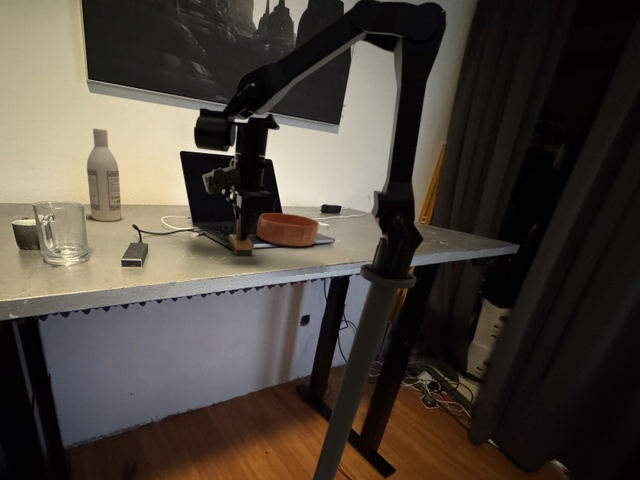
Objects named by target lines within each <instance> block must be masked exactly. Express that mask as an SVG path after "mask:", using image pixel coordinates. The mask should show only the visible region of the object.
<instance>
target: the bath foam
mask: <svg viewBox="0 0 640 480" xmlns="http://www.w3.org/2000/svg"><path fill="white" fill-rule="evenodd" d="M92 135H93V145H94V146H93V148H92V150H91V151H90V153H89V154H88V158H87V162H86V174H87V185H88V194H89V206H90V215H91V218H92V219H93V220H97V221H101V222H102V221H103V222H114V221H115V222H116V221H120V220H121V218H122V207H121V205H122V204H121V188H120V187H121V186H120V170H119V165H118V162H117V160H116V157H115V156H114V154H113V153H112V151H111V150H110V148H109V139H108V130H107V129H102V128H101V129H100V128H93V129H92Z"/></svg>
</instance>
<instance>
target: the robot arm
mask: <svg viewBox="0 0 640 480" xmlns="http://www.w3.org/2000/svg"><path fill="white" fill-rule="evenodd" d="M447 24H448V14H447V11H446V10H445V9H444V8H443V7H442V6H441V5H440V4H439V3H437V2H435V1H425V2H423V3H420V4H415V3H411V2H407V1H380V0H357V1H356V2H355V4H354V5H353V6H352V7H351V8H350V9H349V10H347V11H346V12H344V13H343V14H342V15H340V16H339V17H338V18H336V19H335V20H334V21H332V22H331V23H329V24H328V25H326V26H325V27H323V28H322V29H321V30H319V31H318V32H317V33H315V34H314V35H312V36H311V37H310V38H308V39H307V40H305V41H304V42H303V43H301V44H300V45H298V46H297V47H296V48H294V49H293V50H291V52H289V53H287V54H286V55H284V56H283V57H281V58H279V59H277V60H273V61H270V62H267V63H263V64H262V65H259V66H257V67H254V68H253V69H251V70H249V71H247V72H245V73H244V74H243V75H241V77H240V78H239V80H238V82H237V87H236V92H235V93H234V95H233V96H232V97H231V99H230V100H229V102H228V103H227V104H226V106H225V107H224V109H223V110H212V109H209V108H204V107H201V108H199V116H198V117H197V118H196V121H195V126H194V127H193V139H194V144H195V147H196V148H197V149H198V150H204V151H214V152H221V153H222V152H223V153H228V152H229V151H230V148H233V147H235V148H234V157H233V158H231V159H230V161H229V166H228V167H225V168H222V167H219V168H217V169H212V171H211V172H207V173H203V174H202V175H201V176H202V180H203V183H204V187H205V191H206V193H207V194H208V195H215V194H217V193H218V192H220V191H221V194H223V195H225V196H227V195H228V194H230V195H229V197H226V198H225V199H226V201H227V202H228V204H230V205H231V207H232V208H233V213H234V221H235V226H236V229H237V219H239V223H240V238H241V239H246V238H247V237H248V238H249V235H250V233H251V232H252V230H253V228H254V226H255V225H256V223H258V219H259V217H260V216H261V214H264V212H265V211H268V212H269V211H272V212H273V211H275V210H276V202H277V199H276V197H275V196H274V195H273V193H272V192H269V191H268V190H266V189H265V188H266V187H265V185H263V180H264V179H263V178H264V170H268V165H269V163H268V162H266V155H267V146H268V139H269V138H268V137H269V131H270V130H272V131H279V130H280V129H281V126H280V125H279V123H278V122H277V121H276V119H275V115H274V114H272V113H271V112H270V113H268V112H269V111H270V110H272V109H273V107H274V106H276V105H277V104H278V103H279V102H280V101H281V100H282V99H283V98H284V97H285V95H286V94H287V93H288V92H289V91H290V90H291V89H292V88H293V87H294V86H295V85H296V84H297V83H299V82H300V81H302V80H303V79H305V78H306V77H308V76H310V75H311V74H312V73H314V72H315V71H316V70H318V69H319V68H321V67H322V66H324V65H325V64H327V63H329V62H330V61H331V60H333V59H334V58H336V57H337V56H339V55H340V54H342V53H343V52H345V51H346V50H348V49H349V48H351V47H353V46H354V45H355V44H357V43H358V42H360V41H361V42H365V43H367V44H370V45H372V46H374V47H376V48H378V49H380V50H382V51H385V52H388V53H392V54H393V61H394V62H393V64H394V65H393V66H394V75H395V81H396V94H395V95H396V97H395V104H394V113H393V120H392V128H391V135H390V136H391V138H390V145H389V153H388V159H387V160H388V161H387V170H386V177H385V181H384V184H383V186H382V189H381V191H380V190H373V206H372V209H371V211H370V214H371V215H372V216H373V218H374V221H375V223H376V226H378V228H379V229H380V230H381V236H380V237H379V240H378V244H377V245H376V248H375V252H374V254H373V258H372V262H371V264H372V265H365V264H364V265H365V267H366V268H367V269H369V270H370V271H372V272H374V273H375V274H377V275H379V276H380V277H382V278H384V279H413V276H412V275H413V274H412V275H410V274H408V272H409V270H410V269H411V265H412V262H413V259H414V256H415V253H416V250H417V249H418V248H419V247H420V246H421V244H422V243H423V242H424V237H423V236H422V234H421V232H420V231H419V229H418V227H417V226H416V225H415V221H416V199H415V192H414V186H413V175H414V169H415V162H416V155H417V149H418V142H419V137H420V130H421V122H422V118H423V117H422V116H423V109H424V105H425V97H426V89H427V83H428V80H429V77H430V74H431V72H432V70H433V67H434V65H435V62H436V60H437V58H438V54H439V51H440V48H441V45H442V41H443V39H444V36H445V33H446V29H447V26H448V25H447ZM267 113H268V114H267ZM265 114H267V115H266V117H257V116H254V115H258V116H262V115H265ZM236 120H240V121H236ZM246 120H247V122H245V121H246ZM242 121H244V122H242Z"/></svg>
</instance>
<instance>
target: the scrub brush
mask: <svg viewBox="0 0 640 480" xmlns="http://www.w3.org/2000/svg"><path fill="white" fill-rule="evenodd" d="M228 241H229V247H230V248H231V250H232V251H233V252H234V254H235V255H236V256H250V257H251V256H253V251H254V250H255V243H253V242H252V240H251V239H250V238H249V236H248V237H247V238H246V239H241V238H240V223H239V219H237V228H236V231H235V234H229V235H228Z"/></svg>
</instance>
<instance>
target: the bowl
mask: <svg viewBox="0 0 640 480" xmlns="http://www.w3.org/2000/svg"><path fill="white" fill-rule="evenodd" d="M319 227H320V222H319V221H317V220H315V219H312V218H309V217H307V216H303V215H297V214H291V213H282V212H281V213H280V212H266V213H265V212H263V213H262V214H261V216H260V217H259V219H258V220H257V225H256V234H255V235H256V236H257V237H258V238H259V239H261V240H262V241H264V242H267V243H269V244H272V245H276V246H281V247H290V248H304V247H308V246H312V245H314V244H315V243H316V242H317V238H318V233H319Z"/></svg>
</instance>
